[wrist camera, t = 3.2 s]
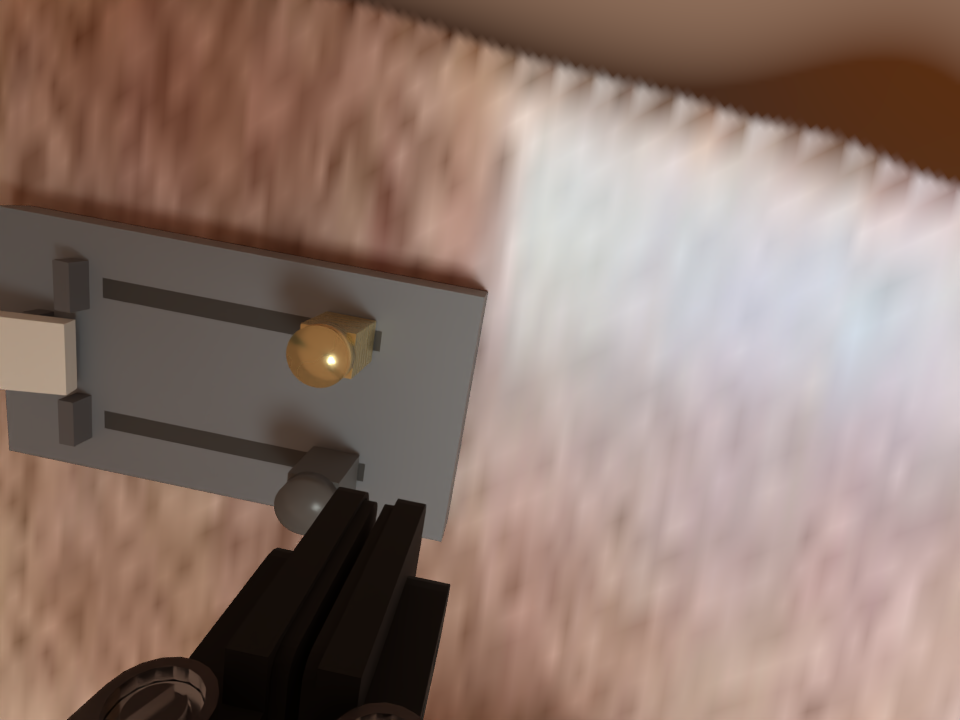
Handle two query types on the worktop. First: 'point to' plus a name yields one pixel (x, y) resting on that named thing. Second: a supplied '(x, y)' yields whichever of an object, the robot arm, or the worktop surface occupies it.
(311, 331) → the brass slider
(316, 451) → the dark gray slider
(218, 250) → the panel
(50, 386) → the block
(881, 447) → the worktop surface
